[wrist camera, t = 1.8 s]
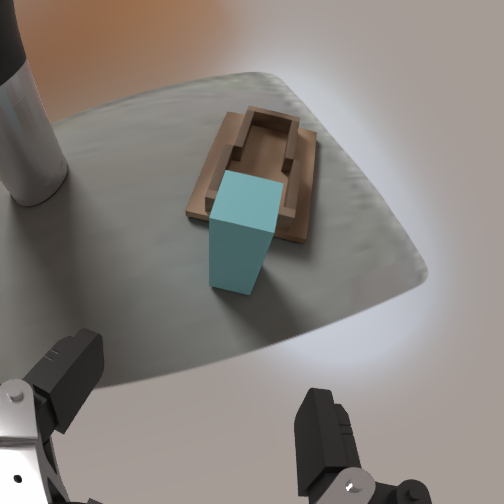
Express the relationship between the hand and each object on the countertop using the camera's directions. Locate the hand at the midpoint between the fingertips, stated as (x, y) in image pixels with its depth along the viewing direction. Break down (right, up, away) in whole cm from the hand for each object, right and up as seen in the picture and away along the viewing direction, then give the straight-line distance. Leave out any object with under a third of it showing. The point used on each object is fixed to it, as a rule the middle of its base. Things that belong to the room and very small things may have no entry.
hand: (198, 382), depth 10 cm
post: (0, +3, +19) cm, 19 cm away
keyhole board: (+3, +15, +26) cm, 30 cm away
